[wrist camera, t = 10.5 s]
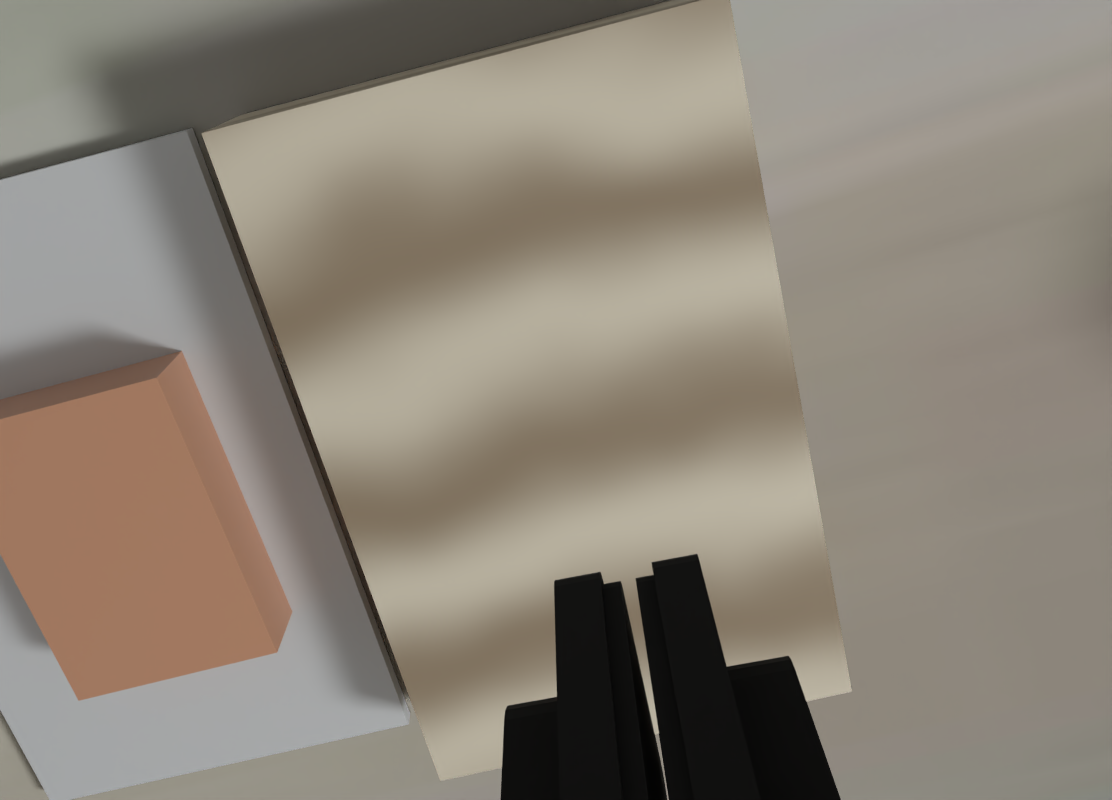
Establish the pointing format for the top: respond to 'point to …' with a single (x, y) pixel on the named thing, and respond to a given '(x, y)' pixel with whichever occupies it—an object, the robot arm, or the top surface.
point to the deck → (542, 351)
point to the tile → (132, 530)
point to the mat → (248, 441)
